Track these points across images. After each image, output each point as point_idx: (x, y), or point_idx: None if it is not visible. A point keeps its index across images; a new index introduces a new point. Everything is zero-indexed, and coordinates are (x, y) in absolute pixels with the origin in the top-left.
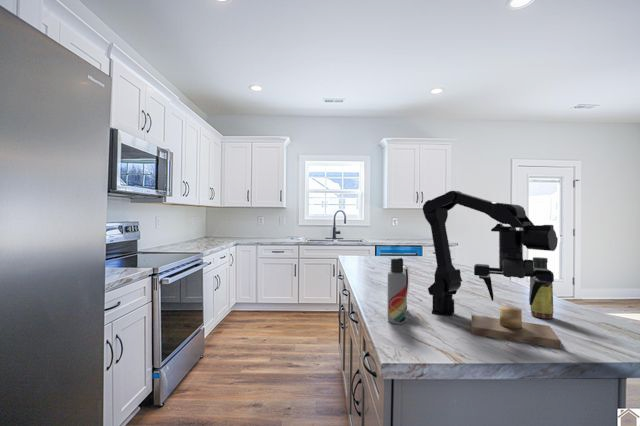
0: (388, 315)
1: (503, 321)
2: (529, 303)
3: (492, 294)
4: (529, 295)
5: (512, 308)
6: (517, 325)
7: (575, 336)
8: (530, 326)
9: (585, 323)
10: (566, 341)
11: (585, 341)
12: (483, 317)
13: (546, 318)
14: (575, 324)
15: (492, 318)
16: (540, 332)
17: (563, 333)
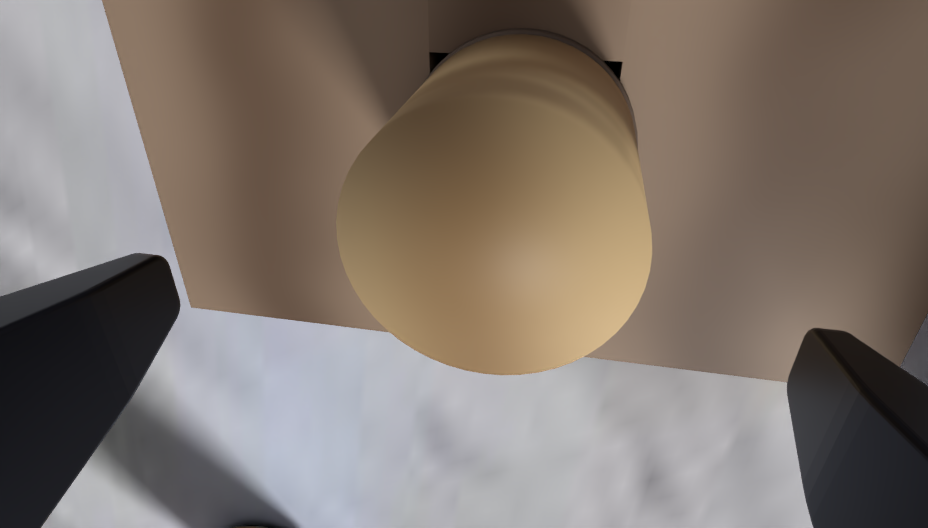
0: None
1: (613, 96)
2: (173, 311)
3: (909, 410)
4: (81, 446)
5: (458, 265)
6: (452, 59)
7: (76, 261)
8: (329, 220)
9: (71, 505)
10: (107, 110)
11: (10, 177)
12: (763, 343)
13: (246, 526)
14: (109, 479)
15: (665, 339)
16: (244, 54)
17: None
